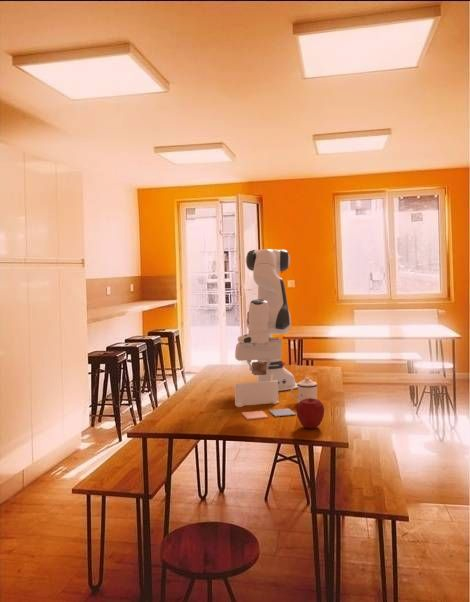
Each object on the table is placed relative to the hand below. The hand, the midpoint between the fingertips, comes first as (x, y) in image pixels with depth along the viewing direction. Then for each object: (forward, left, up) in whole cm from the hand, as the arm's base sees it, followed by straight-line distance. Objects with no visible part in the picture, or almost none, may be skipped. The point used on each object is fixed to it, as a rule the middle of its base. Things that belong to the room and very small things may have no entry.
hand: (258, 370), depth 220 cm
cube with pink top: (0, 0, -2) cm, 2 cm away
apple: (-13, +26, -19) cm, 35 cm away
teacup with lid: (-24, -9, -19) cm, 31 cm away
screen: (-3, -14, -18) cm, 23 cm away
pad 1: (+3, +5, -18) cm, 19 cm away
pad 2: (-9, +4, -18) cm, 21 cm away
